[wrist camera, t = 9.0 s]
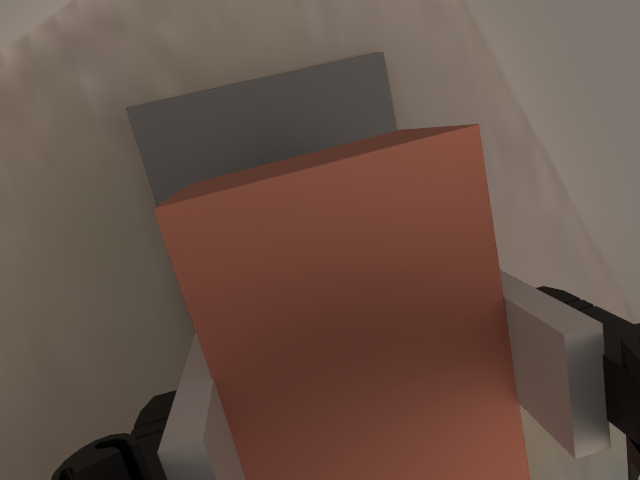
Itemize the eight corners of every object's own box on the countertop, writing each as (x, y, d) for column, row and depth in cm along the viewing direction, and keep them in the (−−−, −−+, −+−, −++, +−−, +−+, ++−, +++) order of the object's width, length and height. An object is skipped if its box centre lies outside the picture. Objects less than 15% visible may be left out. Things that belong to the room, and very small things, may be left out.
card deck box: (190, 183, 13) (152, 208, 8) (398, 129, 13) (478, 123, 9) (278, 457, 15) (289, 602, 11) (450, 403, 16) (535, 517, 11)
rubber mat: (222, 397, 28) (221, 404, 27) (130, 108, 23) (125, 107, 22) (429, 337, 29) (434, 343, 28) (378, 54, 25) (383, 51, 24)
